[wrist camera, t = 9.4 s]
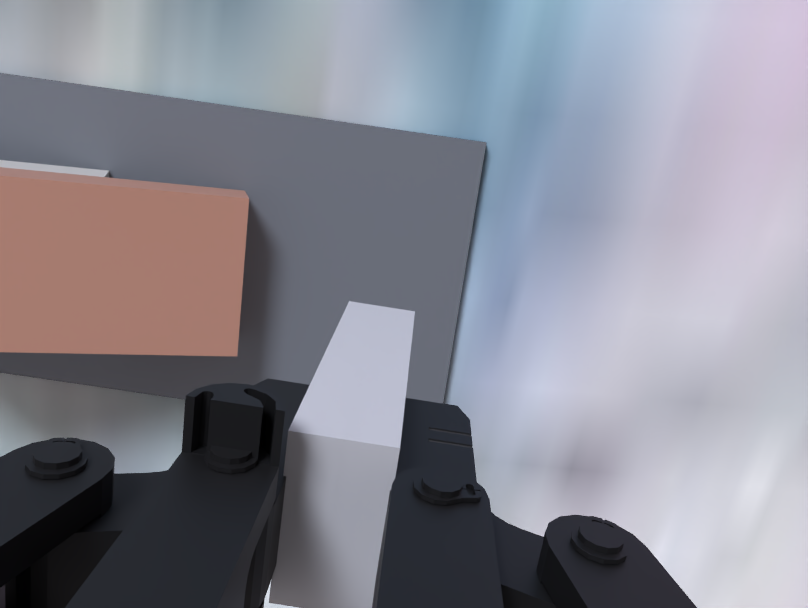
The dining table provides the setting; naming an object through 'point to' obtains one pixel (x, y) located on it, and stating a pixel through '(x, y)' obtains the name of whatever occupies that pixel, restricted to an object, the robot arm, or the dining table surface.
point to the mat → (271, 225)
